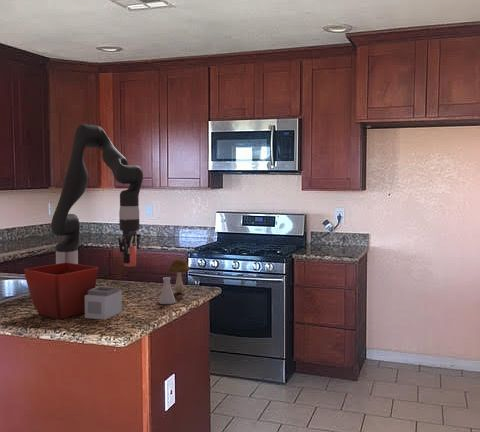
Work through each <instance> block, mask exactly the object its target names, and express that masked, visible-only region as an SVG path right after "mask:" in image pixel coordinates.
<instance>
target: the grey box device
mask: <svg viewBox="0 0 480 432" xmlns="http://www.w3.org/2000/svg"><path fill="white" fill-rule="evenodd" d="M122 293H123V290H120V288H119V286H118V287H116V286H115V287H114V286H103V285H101V286H95V288H93V289H90V290H88V295H85V313H84V318H85V319H95V320H107V319H110V318H111V317H112V318H113V317H114V316H117V315H118V314H121V313H122V311H123V310H122V309H123V307H122V306H123V303H122V302H123V301H122V300H123V298H122V296H123V295H122Z"/></svg>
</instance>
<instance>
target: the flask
mask: <svg viewBox="0 0 480 432" xmlns="http://www.w3.org/2000/svg"><path fill="white" fill-rule="evenodd" d="M162 280H163V284H162V290H161V293H160V296H159V298H158V302H157V303H158V304H161V305H172V304H176V298H175V296H174V292H173V290H172V287H171V277H170V276H169V277H167V276H166V277H163V278H162Z"/></svg>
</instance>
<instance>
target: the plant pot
mask: <svg viewBox="0 0 480 432" xmlns="http://www.w3.org/2000/svg"><path fill="white" fill-rule="evenodd" d="M23 271H24V277H25V281H26V285H27V289H28V291H29V295H30V298H31V300H32V302H33V305H34V308H35V310H36V312H37V314H38V315H40V316H45V317H48V318H53V319H56V320H62V319H66V318H70V317H73V316H78V315H83V314H85V295H88V290H90V289H93V288H96V284H97V279H98V274H99V267H98V266H91V265H87V264H86V265H85V264H79V263H78V264H74V263H59V264H56V263H54V264H49V265H42V266H41V265H40V266H35V267H30V268H25V269H23Z"/></svg>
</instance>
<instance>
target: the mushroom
mask: <svg viewBox="0 0 480 432" xmlns="http://www.w3.org/2000/svg"><path fill="white" fill-rule="evenodd" d="M190 269H191V268H190V266H189V265H188V263H187V261H186V260H185V259H183V258H176V259H174V260H173V261H172V262H171V264H170V265H169V266H168V271H169V272H172V273H176V281H175V285H174V292H175V293H177V294H182V293H183V292H184V291H185V290H184V289H185V288H184V283H183V279H182V278H183V277H182V273H187V272H189V271H190Z"/></svg>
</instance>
